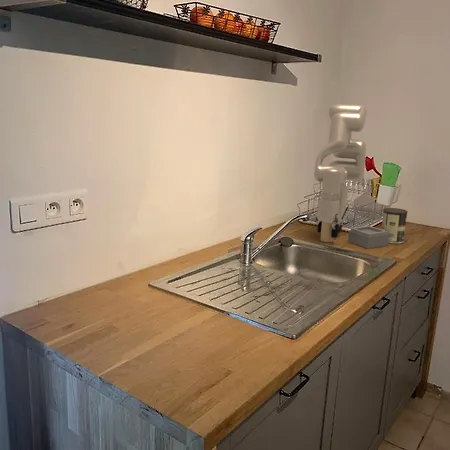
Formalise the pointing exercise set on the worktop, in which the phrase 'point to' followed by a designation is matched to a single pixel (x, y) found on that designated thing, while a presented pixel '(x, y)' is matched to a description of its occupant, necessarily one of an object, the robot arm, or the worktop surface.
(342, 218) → the cocoa
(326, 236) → the candle
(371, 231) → the pedestal
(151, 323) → the worktop surface
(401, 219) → the coffee can
